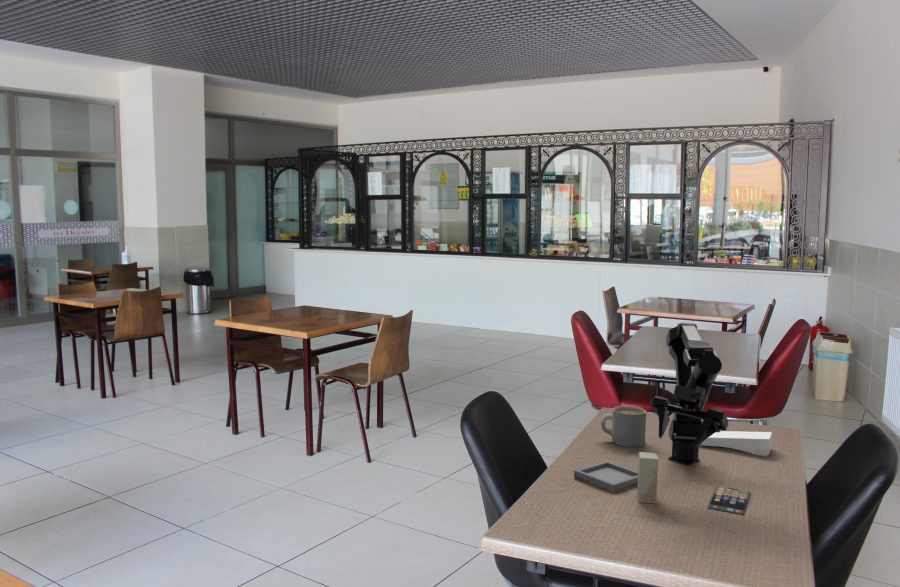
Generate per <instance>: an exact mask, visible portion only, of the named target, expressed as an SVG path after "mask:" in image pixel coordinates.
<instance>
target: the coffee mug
mask: <svg viewBox="0 0 900 587" xmlns="http://www.w3.org/2000/svg"><path fill="white" fill-rule="evenodd" d="M607 420H610V421H611V427H610V428H607V427H606V421H607ZM646 426H647V410H645V409H644V408H641V407H638V406H629V405H627V406H626V405H622V406H621V405H619V406H615V407H613V409H612V414H611V413H608V414H607V413H606V414H604V415H603V416H602V417H601V419H600V427H601V430H602V432H603V433H605V434H607V435H610V436H611V441H612V440H613V442H615V443H618V444H621V445H626V446H625V447H627V446H639V447H642V446H641V445H643V446H645V444H646V430H647V428H646ZM613 442H612V443H613ZM615 443H614V444H615ZM618 444H617V445H618ZM621 445H620V446H621Z"/></svg>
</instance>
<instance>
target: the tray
mask: <svg viewBox="0 0 900 587" xmlns="http://www.w3.org/2000/svg"><path fill="white" fill-rule="evenodd" d="M573 472H574V473H573V474H574V475H573V477H575V478H574V479H576V478H577V480H579V479H580V480H579V481H582V482H584V481H585V483H587V484H589V483H590V485H592V486H595V487H598V488H600V489H601V490H604V491H607V492H610V493H612V494H614V493H616V492H620V491H623V490H625V489H629V488H632V487H635V486H638V470H633V469H631V468H628V467H625V466H622V465H619V464H617V463H614V462H611V461H608V460H606V461H602V462H599V463H594V464H592V465H588V466H585V467H581V468H578V469H574V471H573Z"/></svg>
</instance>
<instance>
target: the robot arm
mask: <svg viewBox="0 0 900 587" xmlns="http://www.w3.org/2000/svg"><path fill="white" fill-rule="evenodd" d="M665 338H666V340H665V342H666V346H667V347H668V354H669V355H670V356H671V358H672V359H673V360H674V363H675V377H676V378H675V380H676V385H675V387H674V390H673V395H672V398H675V399H676V400H675V401H676V403H677V405H676V404H671V402H670V399H669V398H666V397H662V396H658V395H655V396H653V397H652V398H651V400H650V403H649V405H650V406H651V408H652V410H653V411H654V414H655V415H657V417H658V437H659V439H662V438H663V436H664V435H665V432H666V430H667V428H668V426H669V428H668V437H669V439H670V440H671V441H672V442H671V444H672V445H671V446H672V447H671V455H670V456H669V457H668V458H667V459H668V460H670V461H673V462H677V463H679V464H682V465H686V466H689V465H692V464H695V463H698V462H700V461H701V459H700V458H699V452H700V451H699V450H700V447H699V446H701V445H700V444H701V443H702V442H703V441H705V440H706V439H707V438H708V437H710V436H711V435H712V434H714V433H715V432H720V431H727V430H728V427H729V420H728V417H727V415H726V412H724V410H720V409H716V408H711V407H709V408H708V409H707V410H706V411H703V410H704V407H705V404H708V402H709V399H708V396H709V394H710V392H711V389H712V386H713V384H714V381H716V379H717V377H718V375H719V374H720V372H721V370H722V367H723V364H722V361H721V358H720V357H719V356H718V354H717V352H716V350H715V349H714V348H713V346H712V345H711V344H710V343H708V342H705V341H703V338H702V337H701V335H700V333H699V330H698V325H697V324H696V323H694V322H680V323H679V322H678V323H677V325H676V326H674V327H672V328H670V329H669V330H668V332H667V334H666V337H665ZM692 368H693V369H692ZM672 413H674V414H673V416H672ZM670 416H672V418H670Z"/></svg>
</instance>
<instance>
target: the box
mask: <svg viewBox="0 0 900 587" xmlns="http://www.w3.org/2000/svg"><path fill="white" fill-rule="evenodd" d="M637 468H638V469H637V472H638V485H637V493H636V494H637V501H638V503H644V504H645V503H647V504H657V496H658V494H657V493H658V491H657V490H658V470H659V469H658V468H659V456H658V454H657V453H654V452H644V451H639V452H638V467H637Z"/></svg>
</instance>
